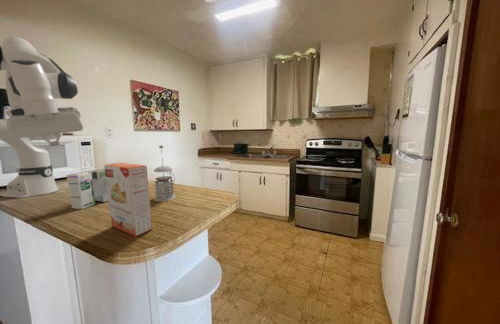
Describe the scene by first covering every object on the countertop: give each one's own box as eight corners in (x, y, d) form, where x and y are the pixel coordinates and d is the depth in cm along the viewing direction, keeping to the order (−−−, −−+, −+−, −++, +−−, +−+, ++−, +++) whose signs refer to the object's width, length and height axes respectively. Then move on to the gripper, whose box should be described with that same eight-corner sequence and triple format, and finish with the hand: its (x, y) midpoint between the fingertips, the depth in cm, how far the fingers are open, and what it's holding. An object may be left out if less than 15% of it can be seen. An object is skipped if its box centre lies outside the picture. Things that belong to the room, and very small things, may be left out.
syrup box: (82, 209, 84) (78, 174, 82) (71, 208, 85) (66, 174, 83) (95, 204, 90) (91, 172, 88) (84, 203, 91) (80, 171, 89)
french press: (149, 200, 94) (144, 146, 91) (166, 193, 105) (162, 144, 102) (166, 202, 92) (162, 146, 88) (182, 194, 102) (179, 144, 99)
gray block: (103, 202, 91) (100, 173, 90) (92, 199, 95) (89, 172, 93) (110, 200, 94) (107, 172, 92) (99, 198, 98) (96, 171, 96)
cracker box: (110, 227, 67) (103, 164, 64) (129, 220, 72) (123, 161, 69) (134, 238, 60) (127, 167, 57) (153, 229, 65) (147, 164, 62)
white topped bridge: (101, 203, 90) (98, 172, 88) (88, 200, 95) (84, 171, 93) (134, 194, 104) (131, 167, 102) (121, 192, 109) (118, 166, 107)
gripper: (77, 106, 83) (87, 139, 88) (2, 110, 71) (18, 149, 75) (78, 107, 79) (89, 142, 84) (-2, 112, 66) (16, 152, 71)
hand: (55, 145), depth 79 cm, fingers closed
